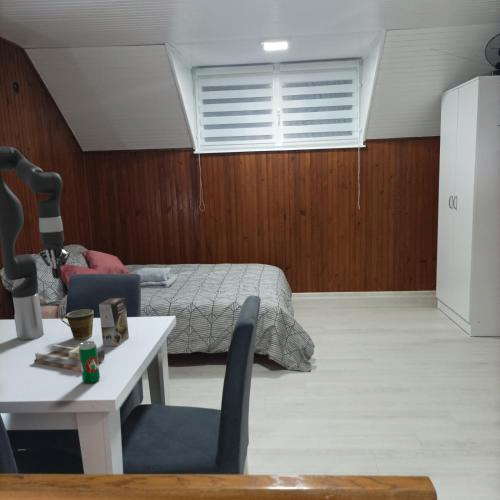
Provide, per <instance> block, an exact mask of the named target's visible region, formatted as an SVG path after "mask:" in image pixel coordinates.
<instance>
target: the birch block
mask: <svg viewBox="0 0 500 500" xmlns="http://www.w3.org/2000/svg"><path fill="white" fill-rule="evenodd" d="M79 347H80V346H77V347H74V348H75V349H73V350H71V351H69V358H72V359H77V360H80V356H79Z"/></svg>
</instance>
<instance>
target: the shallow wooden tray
mask: <svg viewBox="0 0 500 500" xmlns="http://www.w3.org/2000/svg"><path fill="white" fill-rule="evenodd" d="M52 346H53V347H52V349H53V351H51V352H49V353H41V352H36V353H34V356H35V358H34V363H35V364H39V365H45V366H51V367H56V368H60V369H67V370H72V371H75V372H76V371H77V372H81V364H80V360H77V359H72V358H69V351H71V350H73V349H75V348H76V347H71V346H66V345H59V344H53V345H52ZM97 356H98V364H99V363H101V362H104V360H105V358H106V357H105V350H104V349H100V350H97Z"/></svg>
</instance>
